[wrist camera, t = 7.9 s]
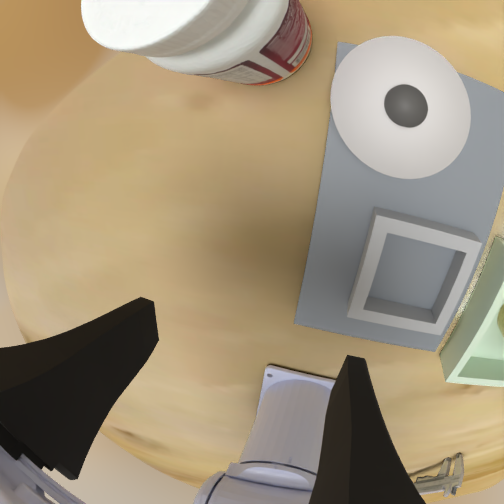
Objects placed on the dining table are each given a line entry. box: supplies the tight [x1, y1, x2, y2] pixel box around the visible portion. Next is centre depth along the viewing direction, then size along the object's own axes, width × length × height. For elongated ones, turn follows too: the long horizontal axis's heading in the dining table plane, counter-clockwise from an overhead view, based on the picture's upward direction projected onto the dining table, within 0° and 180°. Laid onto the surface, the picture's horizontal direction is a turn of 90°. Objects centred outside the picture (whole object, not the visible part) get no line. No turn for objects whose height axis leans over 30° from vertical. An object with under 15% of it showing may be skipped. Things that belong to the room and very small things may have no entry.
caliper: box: [413, 453, 464, 497], centre depth 27 cm, size 20×1×6 cm, turn 143°
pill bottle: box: [81, 0, 312, 85], centre depth 10 cm, size 6×6×11 cm
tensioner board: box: [294, 36, 504, 352], centre depth 15 cm, size 18×11×4 cm, turn 175°
